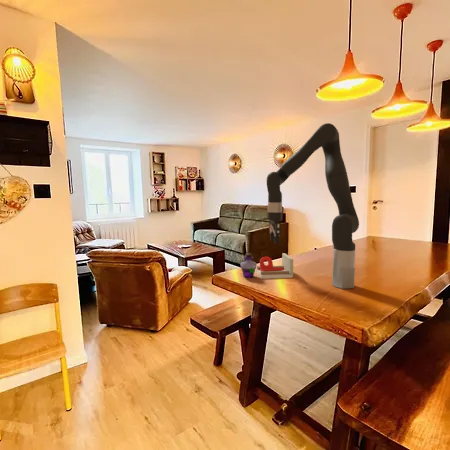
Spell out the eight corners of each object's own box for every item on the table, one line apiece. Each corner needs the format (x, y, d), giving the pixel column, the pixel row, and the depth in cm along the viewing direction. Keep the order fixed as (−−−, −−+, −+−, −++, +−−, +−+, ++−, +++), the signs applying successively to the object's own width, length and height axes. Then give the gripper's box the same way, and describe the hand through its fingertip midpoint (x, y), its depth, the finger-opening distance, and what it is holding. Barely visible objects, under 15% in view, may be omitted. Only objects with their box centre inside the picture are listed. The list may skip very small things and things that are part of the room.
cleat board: (292, 277, 145) (293, 259, 144) (261, 278, 144) (262, 260, 143) (284, 270, 159) (285, 253, 158) (256, 270, 158) (256, 254, 157)
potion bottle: (250, 280, 142) (250, 256, 140) (236, 276, 148) (236, 253, 146) (260, 276, 148) (260, 253, 147) (247, 273, 154) (247, 251, 153)
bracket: (263, 271, 146) (261, 255, 148) (260, 271, 151) (259, 256, 152) (285, 269, 149) (283, 254, 151) (282, 270, 153) (280, 255, 155)
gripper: (286, 212, 141) (285, 244, 143) (278, 210, 155) (277, 239, 157) (271, 212, 141) (270, 244, 142) (264, 210, 155) (264, 240, 157)
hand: (274, 242), depth 150 cm, fingers open, 8 cm apart
